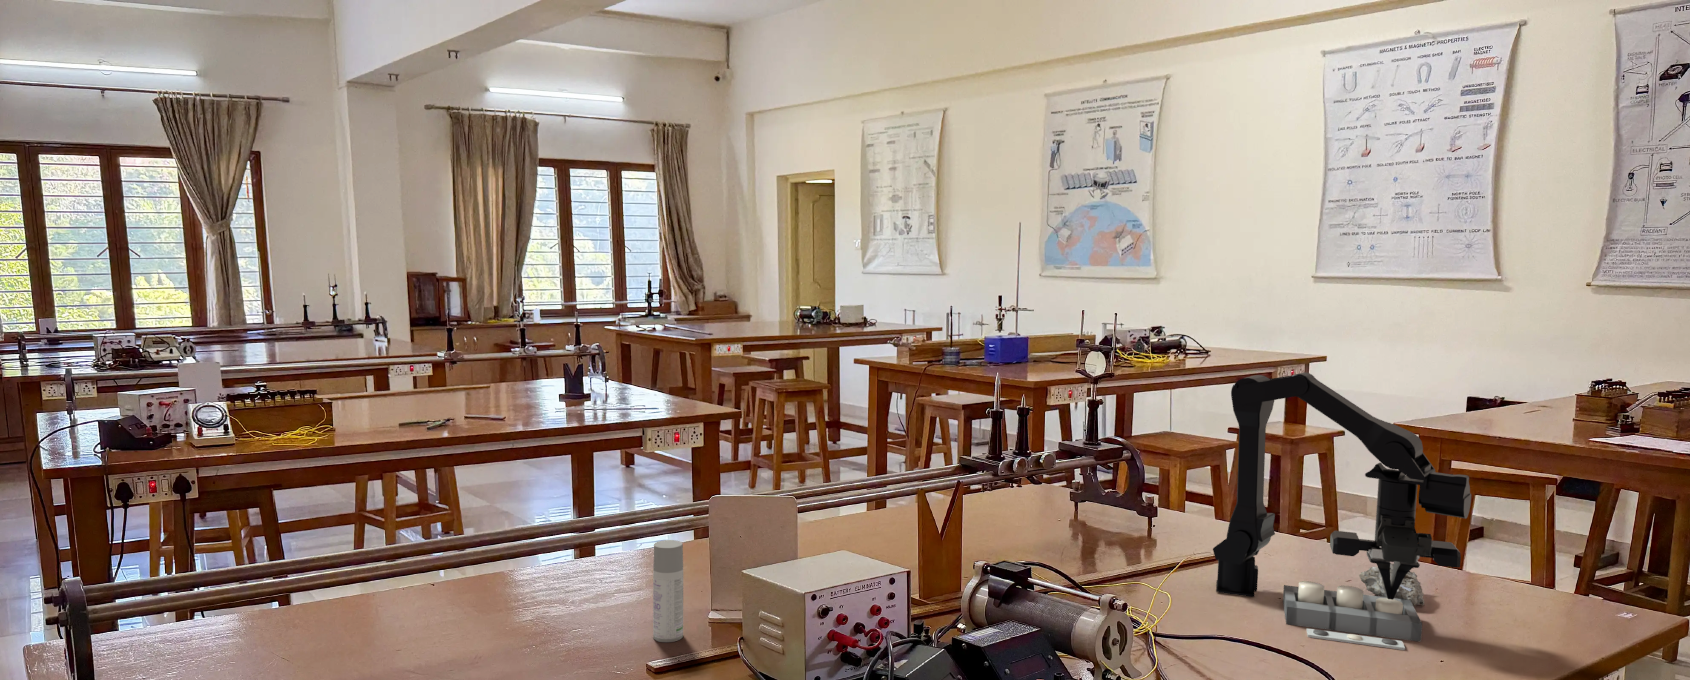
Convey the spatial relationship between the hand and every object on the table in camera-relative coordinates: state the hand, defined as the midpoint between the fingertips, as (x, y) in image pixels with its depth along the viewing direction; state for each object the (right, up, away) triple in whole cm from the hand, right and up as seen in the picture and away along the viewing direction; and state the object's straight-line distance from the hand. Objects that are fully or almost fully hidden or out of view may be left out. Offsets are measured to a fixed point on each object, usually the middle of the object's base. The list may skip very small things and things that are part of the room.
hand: (1390, 598), depth 173 cm
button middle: (-6, -3, +2) cm, 7 cm away
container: (-119, -4, -10) cm, 120 cm away
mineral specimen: (+8, -4, +14) cm, 17 cm away
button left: (-11, -2, +4) cm, 12 cm away
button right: (0, -4, 0) cm, 4 cm away
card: (-9, -5, -6) cm, 12 cm away
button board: (-6, -4, +3) cm, 8 cm away
